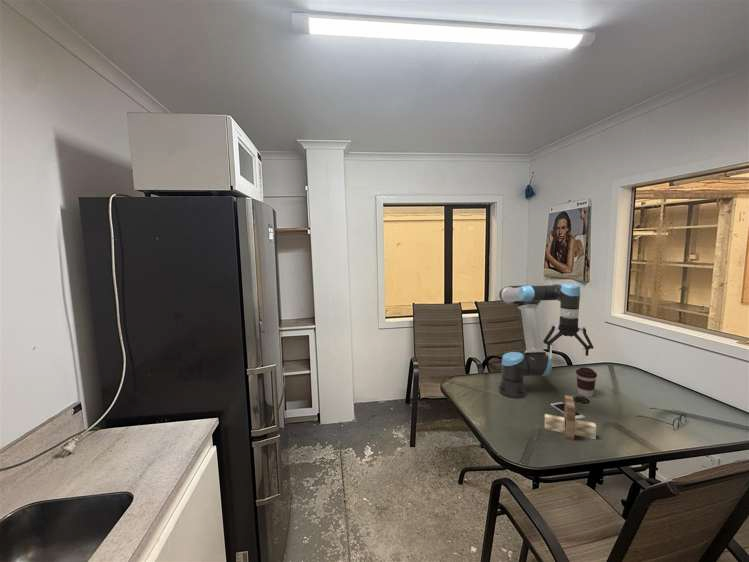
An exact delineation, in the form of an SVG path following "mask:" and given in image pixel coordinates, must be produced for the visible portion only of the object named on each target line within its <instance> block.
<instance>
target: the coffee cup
mask: <svg viewBox="0 0 749 562" xmlns="http://www.w3.org/2000/svg"><path fill="white" fill-rule="evenodd" d="M575 374H576V375H577V376H576V385H577V393H578V395H580V396H582V397H586V398H592V397H593V396H594V390H595V388H596V387H595V386H596V379H597V377H598V374H597V372H596V371H595V370H593V369H592V368H590V367H583V366H582V367H579V368H578V369H576V370H575Z"/></svg>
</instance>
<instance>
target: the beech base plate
mask: <svg viewBox="0 0 749 562" xmlns="http://www.w3.org/2000/svg"><path fill="white" fill-rule="evenodd" d="M544 429H545V430H547V431H548V430H549V431H553V432H559V433H561V434H565V432H566V427H565V419H564V416H558V415H553V414H547V413H545V414H544ZM574 436H577V437H583V438H586V439H587V438H588V439H592V440H596V437H597V425H596V422H590V421H586V420H585V421H584V420H579V419H575V431H574Z"/></svg>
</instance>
